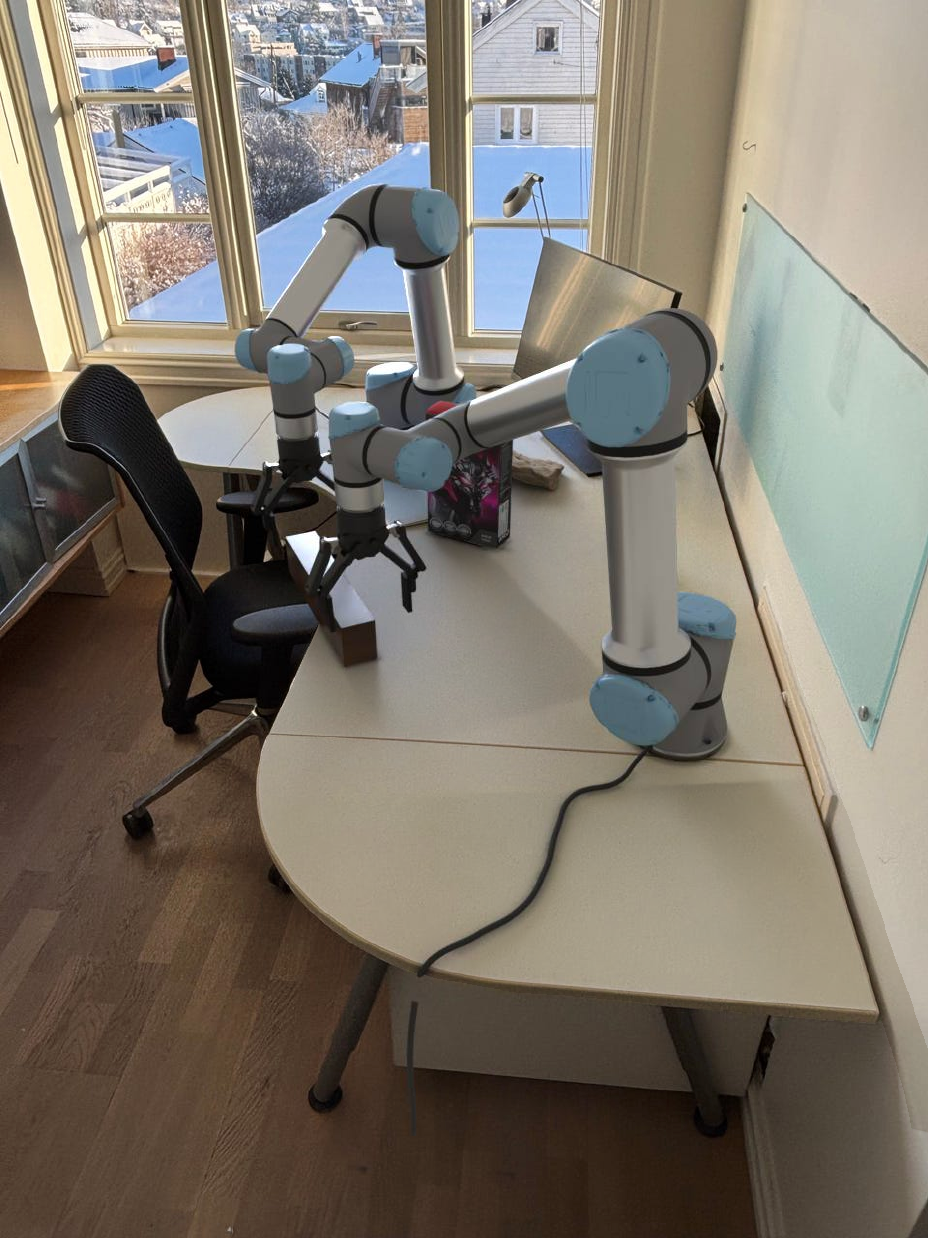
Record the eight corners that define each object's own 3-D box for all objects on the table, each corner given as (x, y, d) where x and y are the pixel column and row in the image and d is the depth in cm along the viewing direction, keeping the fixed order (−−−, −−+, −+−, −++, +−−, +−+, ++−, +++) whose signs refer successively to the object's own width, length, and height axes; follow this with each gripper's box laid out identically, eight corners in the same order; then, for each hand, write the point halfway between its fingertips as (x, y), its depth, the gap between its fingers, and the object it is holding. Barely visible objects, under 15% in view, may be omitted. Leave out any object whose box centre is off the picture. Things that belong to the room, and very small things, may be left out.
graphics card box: (425, 532, 195) (422, 409, 180) (440, 519, 200) (440, 398, 185) (497, 552, 189) (501, 426, 173) (511, 537, 194) (517, 414, 179)
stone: (462, 471, 213) (468, 446, 211) (478, 460, 226) (484, 436, 224) (548, 498, 210) (555, 473, 207) (560, 485, 223) (567, 461, 221)
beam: (377, 658, 158) (375, 620, 154) (344, 667, 156) (341, 628, 152) (318, 566, 184) (315, 530, 179) (289, 572, 182) (285, 536, 177)
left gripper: (355, 414, 173) (363, 513, 186) (223, 437, 165) (240, 540, 177) (369, 428, 168) (376, 530, 180) (233, 454, 159) (250, 559, 171)
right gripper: (425, 479, 150) (429, 590, 161) (275, 509, 141) (291, 625, 153) (443, 497, 144) (446, 611, 156) (288, 529, 136) (304, 648, 147)
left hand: (308, 535), depth 179 cm, fingers open, 13 cm apart
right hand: (369, 618), depth 154 cm, fingers open, 13 cm apart
